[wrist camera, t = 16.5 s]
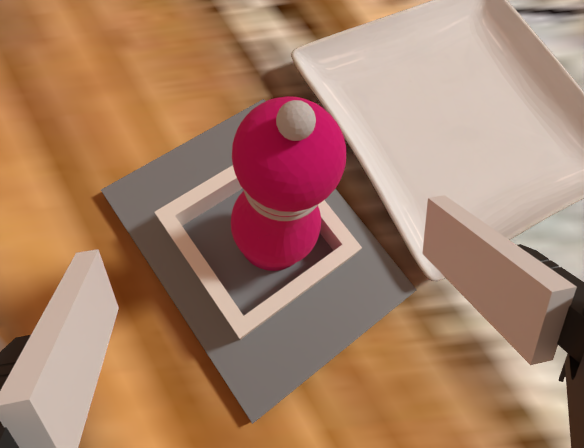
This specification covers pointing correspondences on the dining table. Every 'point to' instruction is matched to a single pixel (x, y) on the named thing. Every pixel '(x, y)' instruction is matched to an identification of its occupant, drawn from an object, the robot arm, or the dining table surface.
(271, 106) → the pepper mill
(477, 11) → the square plate
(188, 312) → the caddy
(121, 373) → the dining table surface
